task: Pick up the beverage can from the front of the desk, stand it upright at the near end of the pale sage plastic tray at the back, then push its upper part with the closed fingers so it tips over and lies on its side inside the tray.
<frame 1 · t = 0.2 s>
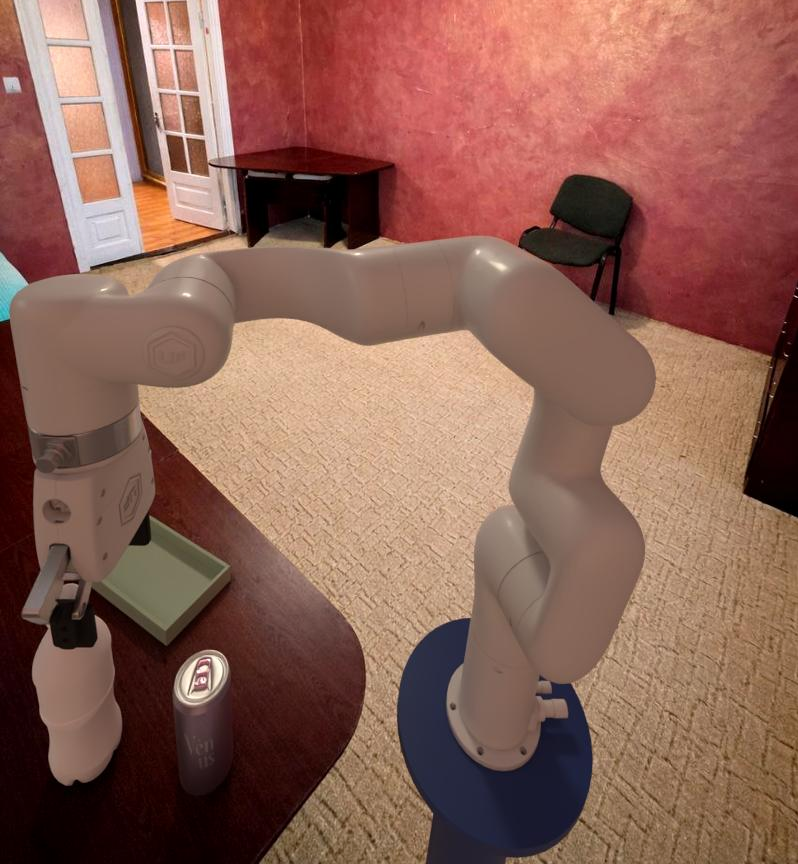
hand: (108, 588, 44), 32 cm above the table, tool pointing down, fingers open, 9 cm apart
beverage can: (207, 766, 57), on the table
tray: (147, 572, 80), on the table
water bottle: (89, 756, 57), on the table
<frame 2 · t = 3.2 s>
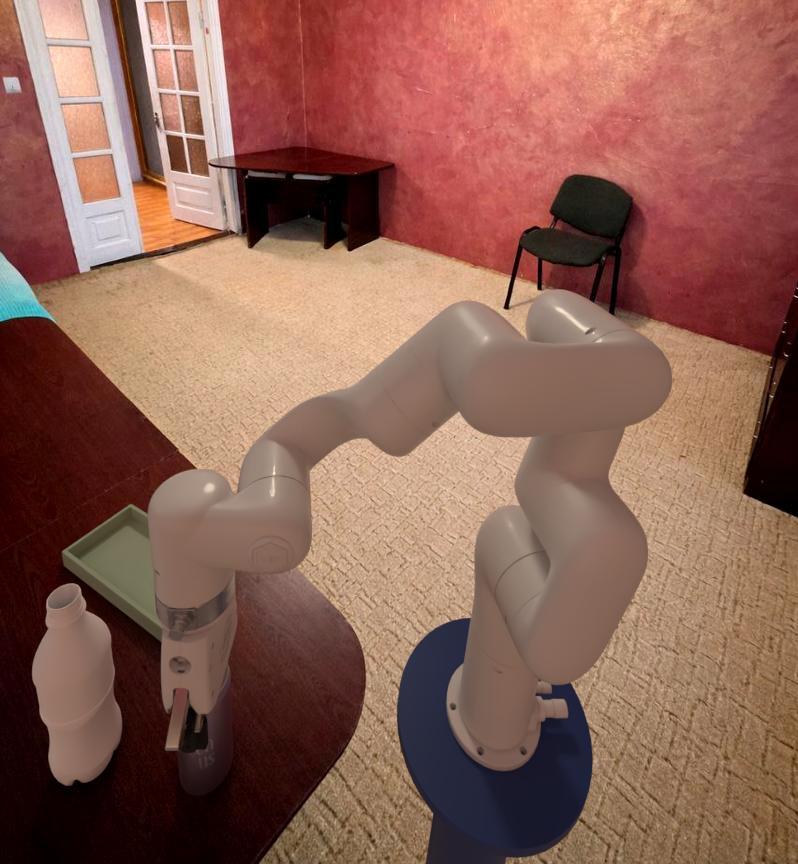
hand: (203, 707, 54), 10 cm above the table, tool pointing down, fingers closed on beverage can, 6 cm apart
beverage can: (207, 766, 57), on the table, touching gripper
everything else where it was.
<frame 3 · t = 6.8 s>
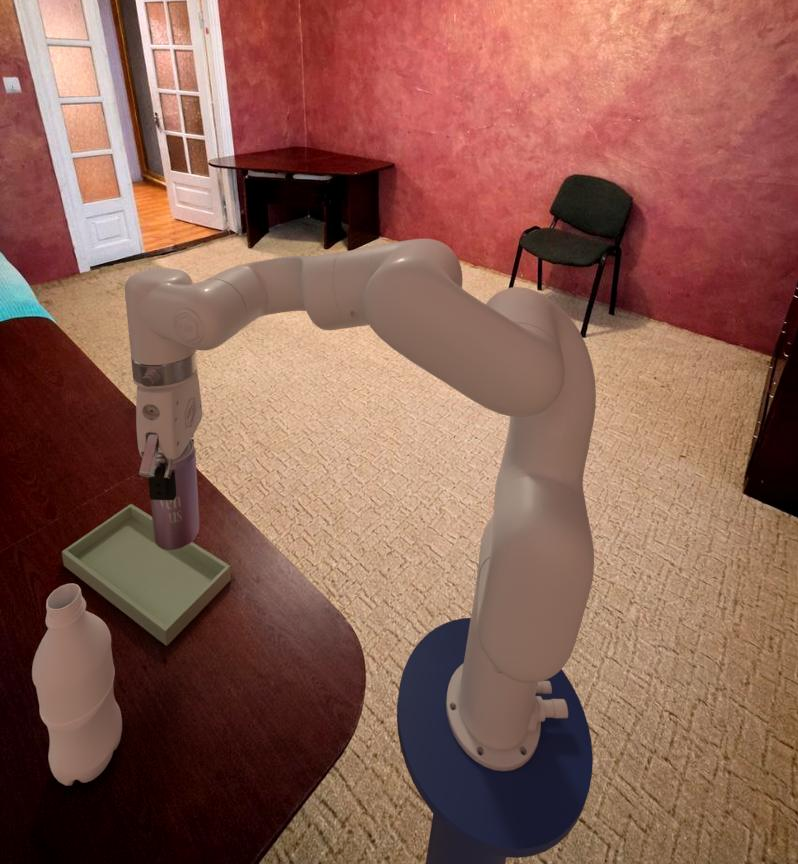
hand: (173, 479, 67), 25 cm above the table, tool pointing down, fingers closed on beverage can, 6 cm apart
beverage can: (177, 536, 70), point 15 cm above the table, touching gripper
everything else where it was.
when the fingers open (10 cm above the table, at t = 10.7 s): beverage can stays where it is, resting on tray.
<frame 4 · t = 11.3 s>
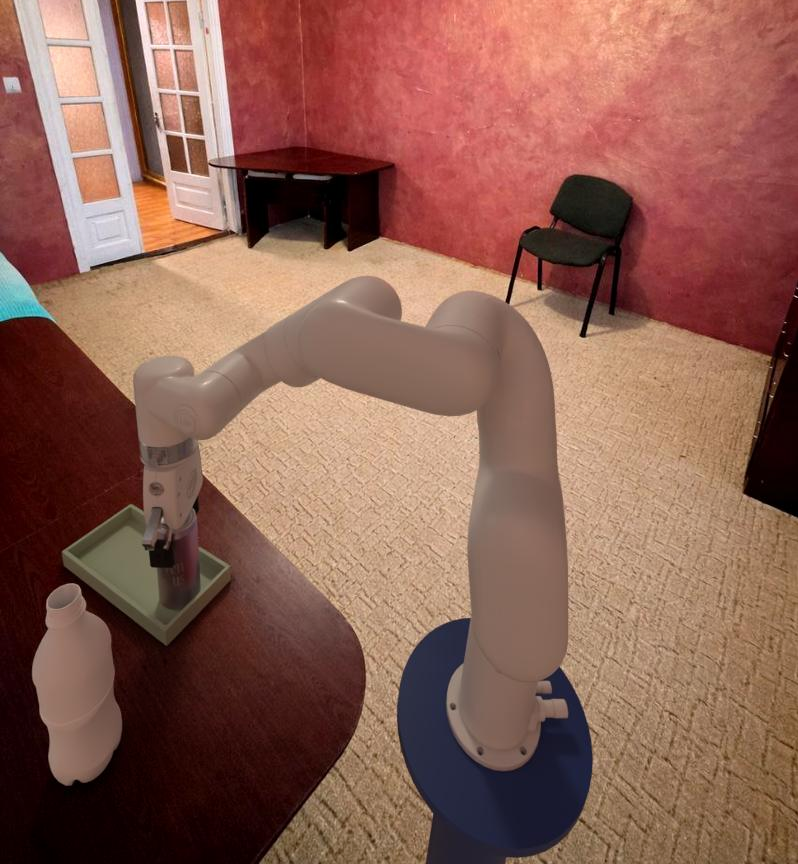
hand: (176, 537, 73), 12 cm above the table, tool pointing down, fingers open, 9 cm apart
beverage can: (180, 595, 76), resting on tray
everything else where it was.
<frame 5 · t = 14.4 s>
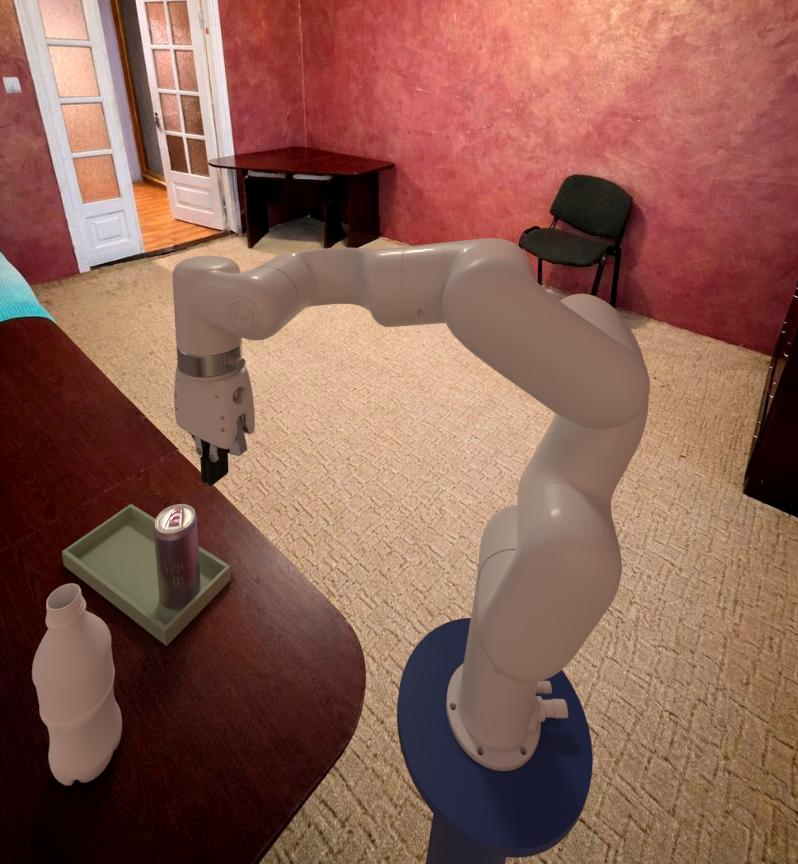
hand: (215, 477, 65), 27 cm above the table, tool pointing down, fingers closed
nothing on the table moved.
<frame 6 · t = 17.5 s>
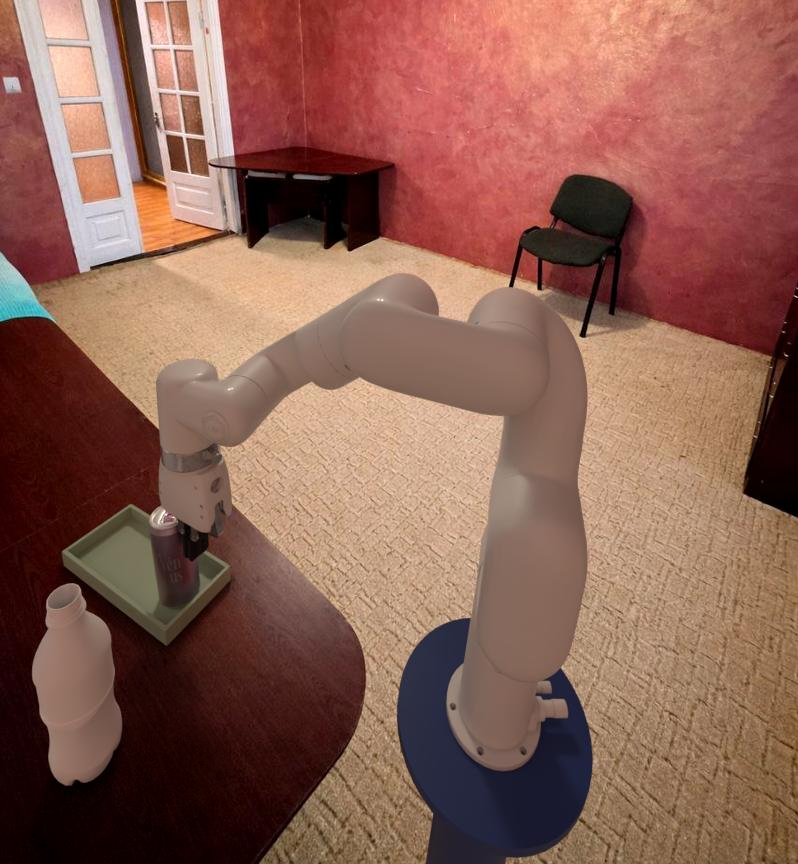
hand: (196, 552, 71), 12 cm above the table, tool pointing down, fingers closed
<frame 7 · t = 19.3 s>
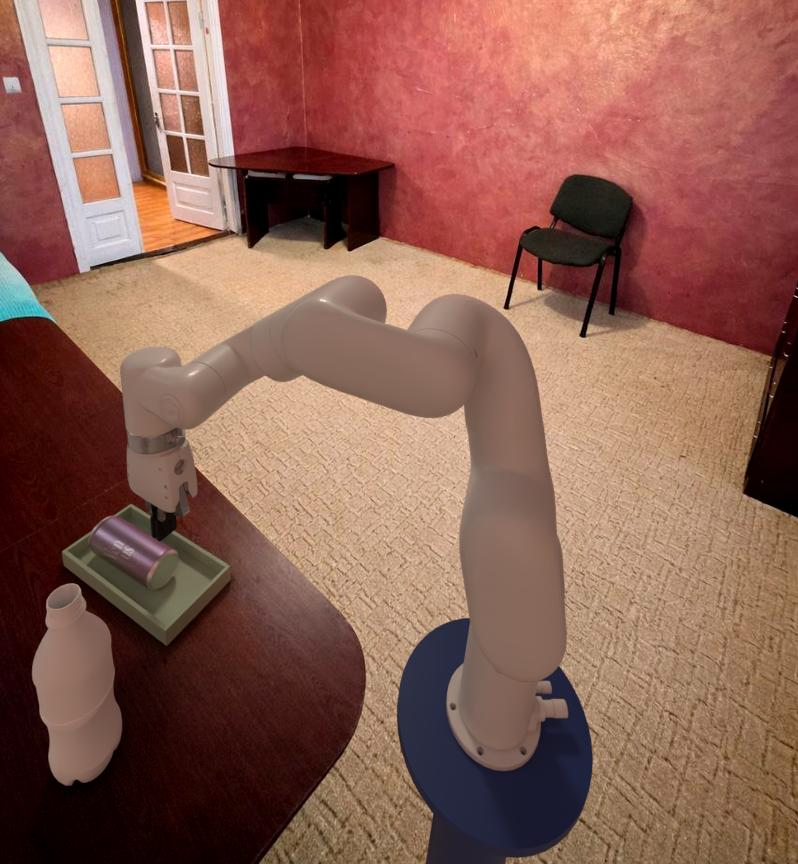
hand: (164, 532, 74), 11 cm above the table, tool pointing down, fingers closed
beverage can: (166, 571, 76), point 3 cm above the table, touching tray
everything else where it was.
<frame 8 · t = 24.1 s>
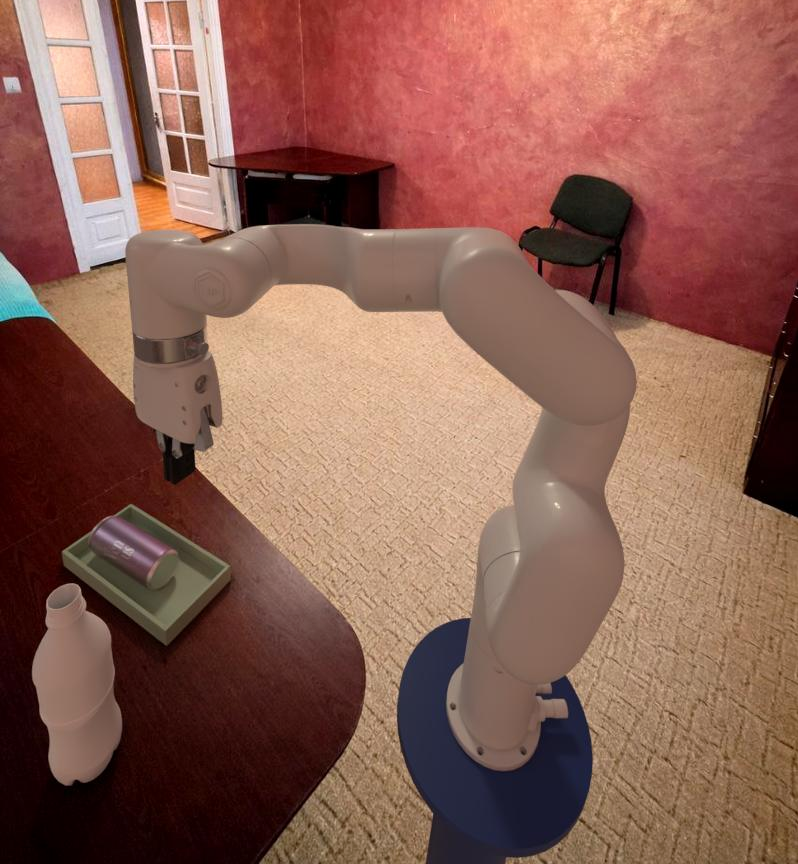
hand: (180, 475, 59), 31 cm above the table, tool pointing down, fingers closed
nothing on the table moved.
at the end: beverage can tilted 90°; beverage can inside the target area on the tray (5.2 cm from its centre), point 3.5 cm above the tray's base; beverage can touching tray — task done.
